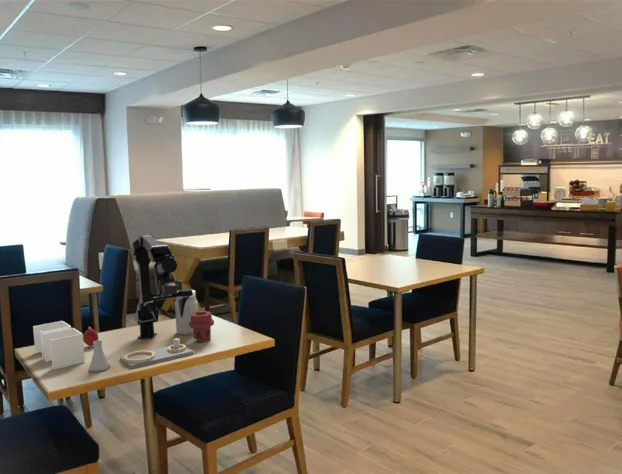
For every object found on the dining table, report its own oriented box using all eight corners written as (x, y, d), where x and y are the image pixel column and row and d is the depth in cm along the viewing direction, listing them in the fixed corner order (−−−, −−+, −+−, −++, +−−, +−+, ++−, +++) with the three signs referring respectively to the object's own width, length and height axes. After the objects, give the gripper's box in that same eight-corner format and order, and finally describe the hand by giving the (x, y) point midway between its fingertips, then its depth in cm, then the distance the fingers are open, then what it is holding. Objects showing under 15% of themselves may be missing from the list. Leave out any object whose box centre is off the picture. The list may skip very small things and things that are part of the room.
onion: (102, 345, 229) (100, 325, 228) (91, 349, 224) (89, 329, 223) (91, 343, 231) (90, 324, 230) (80, 347, 226) (78, 328, 225)
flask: (92, 365, 205) (90, 339, 203) (112, 364, 205) (110, 338, 204) (86, 373, 197) (83, 345, 196) (107, 371, 198) (105, 344, 197)
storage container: (85, 362, 209) (82, 333, 208) (53, 370, 202) (51, 340, 201) (64, 347, 228) (62, 320, 227) (35, 353, 221) (33, 326, 220)
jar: (196, 335, 238) (194, 293, 236) (173, 336, 239) (171, 294, 236) (201, 329, 248) (199, 288, 246) (179, 329, 248) (177, 289, 246)
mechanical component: (218, 337, 235) (209, 344, 225) (195, 336, 237) (186, 343, 227) (217, 308, 233) (207, 314, 224) (194, 307, 235) (184, 314, 226)
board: (130, 368, 200) (129, 354, 200) (119, 360, 210) (118, 346, 209) (193, 354, 214) (192, 340, 214) (180, 346, 224) (179, 333, 223)
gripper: (142, 277, 199) (149, 321, 197) (193, 271, 209) (200, 312, 206) (136, 282, 208) (142, 324, 206) (185, 276, 218) (191, 316, 216)
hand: (169, 319), depth 208 cm, fingers open, 9 cm apart
